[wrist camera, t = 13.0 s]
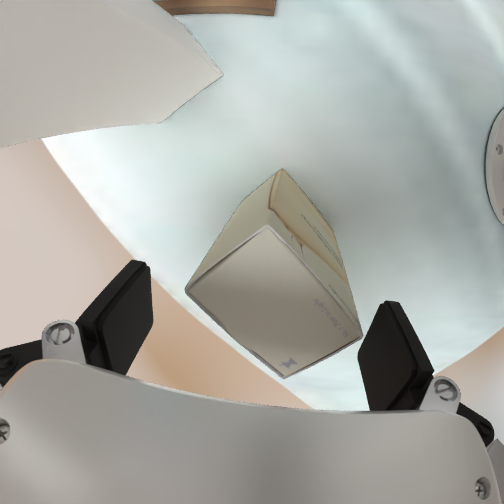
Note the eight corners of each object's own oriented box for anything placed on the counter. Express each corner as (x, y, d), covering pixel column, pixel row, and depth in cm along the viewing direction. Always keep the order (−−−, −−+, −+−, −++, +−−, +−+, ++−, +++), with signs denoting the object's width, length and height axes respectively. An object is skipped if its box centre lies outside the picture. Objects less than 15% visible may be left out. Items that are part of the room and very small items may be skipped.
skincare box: (333, 229, 21) (372, 338, 10) (288, 261, 23) (285, 384, 12) (280, 164, 20) (271, 218, 9) (234, 202, 21) (179, 293, 10)
